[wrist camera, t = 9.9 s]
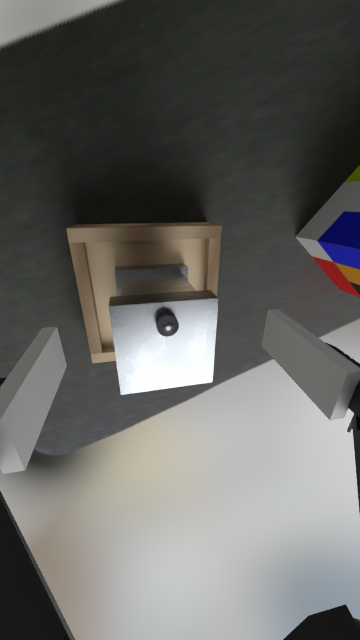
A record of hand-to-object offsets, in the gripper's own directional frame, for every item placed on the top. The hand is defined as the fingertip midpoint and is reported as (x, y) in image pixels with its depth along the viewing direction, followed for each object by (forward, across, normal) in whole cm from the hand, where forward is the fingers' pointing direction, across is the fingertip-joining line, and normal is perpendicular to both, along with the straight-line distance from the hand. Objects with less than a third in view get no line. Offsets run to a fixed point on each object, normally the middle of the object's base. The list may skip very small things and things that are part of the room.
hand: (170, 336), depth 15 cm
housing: (+8, 0, 0) cm, 8 cm away
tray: (+11, +1, 0) cm, 11 cm away
